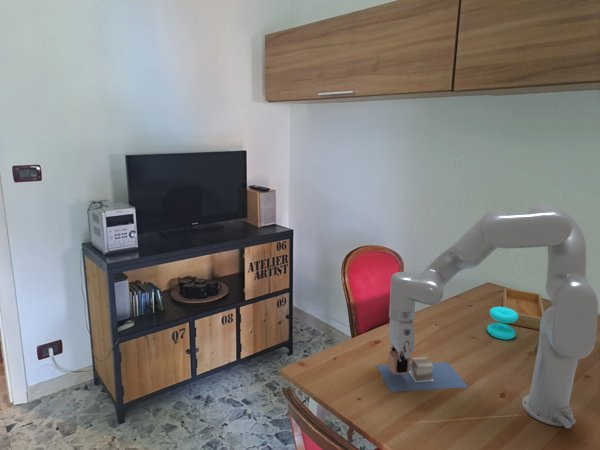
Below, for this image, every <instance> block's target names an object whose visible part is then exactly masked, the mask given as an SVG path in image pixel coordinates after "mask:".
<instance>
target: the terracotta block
mask: <svg viewBox="0 0 600 450" xmlns="http://www.w3.org/2000/svg"><path fill="white" fill-rule="evenodd" d="M401 351H402V350H401ZM404 355H405V353H401V357H402V356H404ZM387 357H388V360H387V365H388V366H389V368H390V370H391V371H392V373H393V374H405V373H409V366H410V364H411V361H410V360H411V358H410V359H409V360H408V366H407V372H401V373H398V372H397V360H398V351H391V350H389V351H388V356H387Z"/></svg>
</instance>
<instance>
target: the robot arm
mask: <svg viewBox="0 0 600 450" xmlns="http://www.w3.org/2000/svg"><path fill="white" fill-rule="evenodd" d="M543 247H544V248H545V247H546V249H547V268H546V269H547V271H546V282H545V291H546V294H547V296H548V298H549V300H550V301H551V303H552V305H551V306H550V307H548V308H547V309H545V310H544V313H543V315H542V317H541V322H540V330H539V337H538V339H539V345H538V351H537V353H536V356H535V357H536V358H535V363H534V368H533V375H532V379H531V380H532V381H531V385H530V390H529V394H528V395H524V397H523V398H522V401H521V405H522V407H523V409H524V410H525V411H526V412H527V414H528V415H529V416H530V417H532V418H533V419H536V420H537V421H539V422H541V423H544V424H546V425H550V426H555V427H563V428H565V429H567V430H568V429H570V428H571V427H572V426H573V425H574V424H576V423H577V420H576V419H575V418H574V413H573V412H572V408H571V406H570V400H571V394H572V390H573V385H574V381H575V380H574V379H575V376H576V371H577V367H578V362H579V360H580V359H581V360H582V359H584V358H585V357H587V356H589V355H590V354H591V353H592V352H593V349H594V348H595V345H596V340H597V329H598V318H599V317H598V316H599V301H598V297H597V293H596V290H595V289H594V288H593V287H592V285H590V282H588V280H587V276H586V275H587V243H586V240H585V236H584V233H583V230H582V229H581V227H580V225H578V222H576V221H575V219H574V218H573V217H572V216H571V215H570V214H569V213H568V212H566V210H563V209H561V208H560V207H557V206H556V205H553V204H549V203H540V204H536V205H534V206H533V207H531V208H530V209H529V211H528V212H527V213H526V214H513V215H512V214H510V213H508V212H507V211H505V210H502V209H492V210H489V211H488V212H486V213H485V214H484V215H482V217H480V219H479V220H477V222H475V223H474V224H473V225H472V226H471V227H470V228H469V229H468V230H467V231H466V232H465V233H464V234H463V235H462V236H461V237H460V238H459V239H458V240H457V241H456V242H455V243H454V244H452V245H451V246H450V247H448V248H447V249H446V250H445V251H443V252H442V253H441V254H440V255H438V256H437V257H436V258H435V259H434V260H433V261H432V262H431V263H430V264H429V265H428V266H427V267H426V268H425V269H424V270H423V271H422V272H421V273H420V275H419V277H418V278H417V276H415V274H413V273H410V272H406V271H398V272H395V273H393V274H392V275H391V277H390V287H389V288H390V289H389V290H390V291H389V292H390V294H389V307H388V308H389V310H388V317H389V325H388V339H389V342H390V351H398V360H397V372H398V373H401V372H407V366H408V360H409V359H410V360H411V359H412V357H411V353H414V351H415V325H414V320H415V313H416V303H420V304H423V305H427V306H435V305H438V304H439V303H441V302H442V300H443V298H444V292H445V291H444V289H445V288H444V287H445V285H446V284H448V282H450V281H451V279H453V277H454V276H456V275H457V274H458V273H460V272H462V271H464V270H467V269H474V268H476V267H477V266H479V265H480V264H481V263H483V261H484V260H486V258H488V257H489V256H491V254H492V253H493V252H494V251H495V250H496V249H526V248H528V249H529V248H543ZM401 350H402V351H401ZM401 353H405V355H404V356H402V357H401Z"/></svg>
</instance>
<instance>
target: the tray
mask: <svg viewBox="0 0 600 450" xmlns="http://www.w3.org/2000/svg"><path fill="white" fill-rule="evenodd" d="M502 307H505V308H509V309H512V310H513V311H515V312H516V313H517V314H518V320H517V321H515V322H513V323H506V324H507V325H514V326H518V327H522V328H523V327H524V328H528V329H533V330H538V331H540V322H541V317H542V315H543V313H544V312H545V309H544V305H543V298H542V295H541V294H540V293H536V292H530V291H525V290H520V289H519V290H518V289H517V290H516V289H512V288H508V287H507V288H506V287H504V288H503V294H502Z"/></svg>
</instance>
